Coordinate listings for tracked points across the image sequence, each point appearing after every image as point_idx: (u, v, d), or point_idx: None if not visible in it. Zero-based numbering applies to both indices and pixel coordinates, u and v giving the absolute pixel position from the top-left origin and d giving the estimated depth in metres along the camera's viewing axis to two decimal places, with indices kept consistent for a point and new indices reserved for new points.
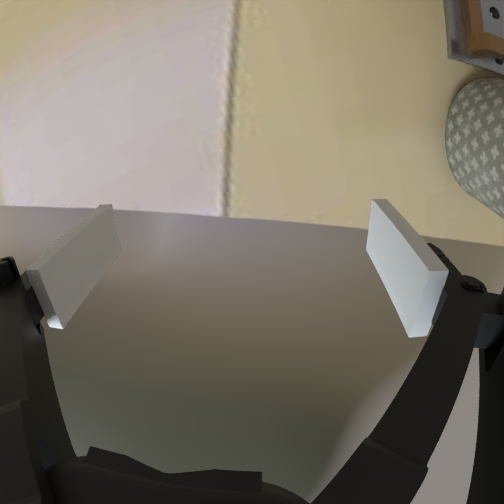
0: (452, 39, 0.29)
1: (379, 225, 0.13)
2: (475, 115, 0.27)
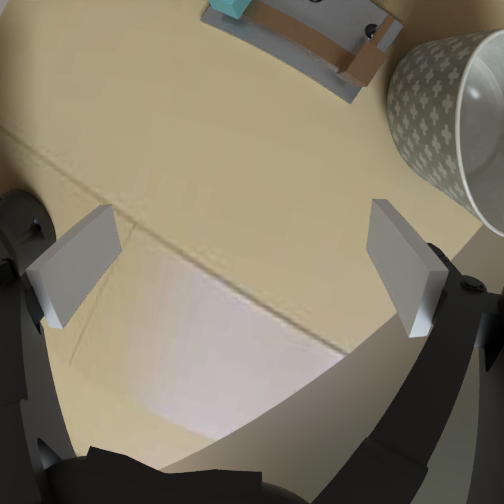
0: (331, 88, 0.32)
1: (379, 225, 0.13)
2: (423, 168, 0.27)
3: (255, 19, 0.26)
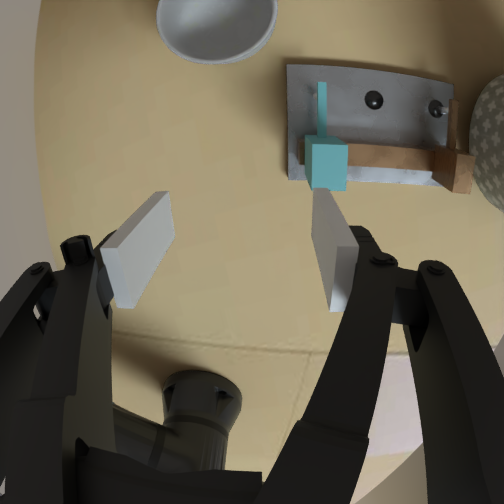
0: (427, 183, 0.33)
1: (316, 211, 0.15)
2: None
3: None
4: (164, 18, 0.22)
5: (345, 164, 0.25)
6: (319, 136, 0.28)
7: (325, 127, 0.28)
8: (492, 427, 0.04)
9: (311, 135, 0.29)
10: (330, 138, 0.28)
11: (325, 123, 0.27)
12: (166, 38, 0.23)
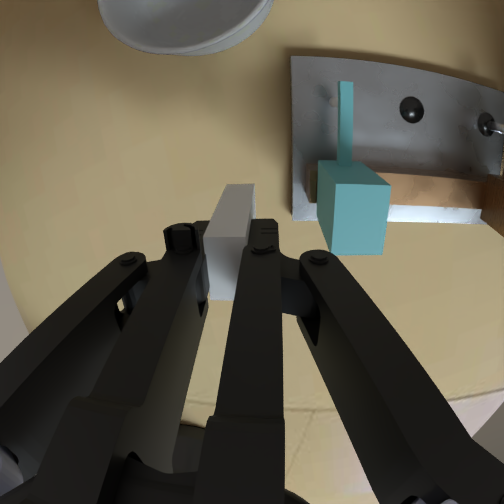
0: (470, 221, 0.24)
1: None
2: None
3: None
4: None
5: (385, 215, 0.16)
6: (341, 164, 0.19)
7: (350, 151, 0.18)
8: (415, 411, 0.05)
9: (328, 161, 0.20)
10: (358, 168, 0.18)
11: (350, 144, 0.18)
12: (110, 21, 0.13)
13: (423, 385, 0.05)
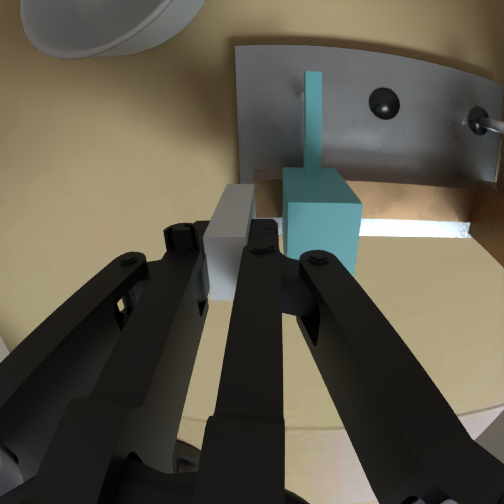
0: (457, 234, 0.21)
1: None
2: None
3: None
4: None
5: (354, 241, 0.13)
6: (307, 173, 0.16)
7: (319, 156, 0.15)
8: (415, 411, 0.05)
9: (294, 169, 0.17)
10: (327, 178, 0.15)
11: (319, 149, 0.15)
12: (30, 28, 0.11)
13: (423, 384, 0.05)
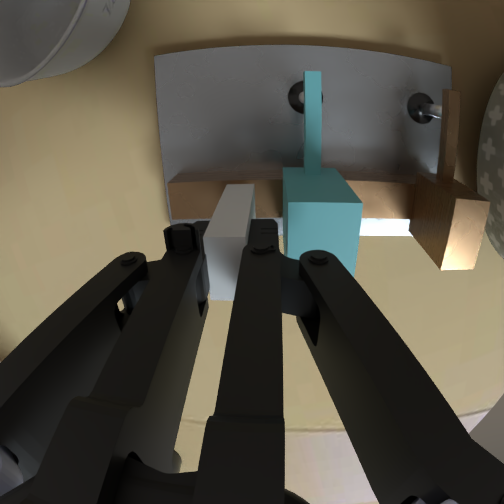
0: (403, 232, 0.22)
1: None
2: None
3: None
4: None
5: (355, 240, 0.13)
6: (307, 173, 0.16)
7: (318, 156, 0.15)
8: (415, 411, 0.05)
9: (294, 169, 0.17)
10: (327, 177, 0.15)
11: (319, 149, 0.15)
12: None
13: (423, 385, 0.05)
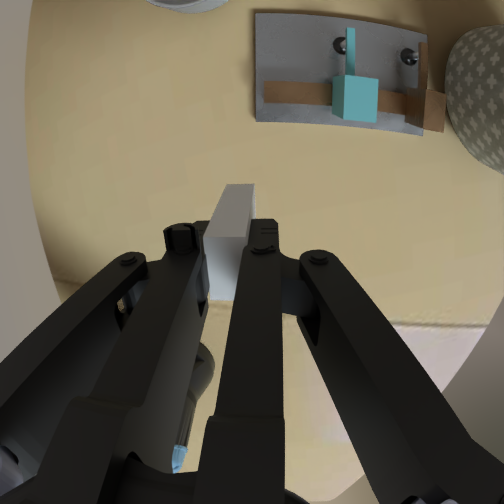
0: (402, 130, 0.32)
1: None
2: None
3: (312, 103, 0.30)
4: None
5: (376, 97, 0.23)
6: None
7: (353, 68, 0.26)
8: (415, 411, 0.05)
9: None
10: None
11: (353, 65, 0.25)
12: None
13: (423, 384, 0.05)
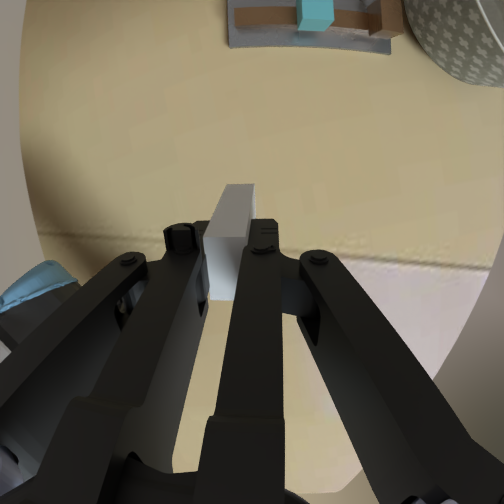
0: (370, 49, 0.31)
1: None
2: (478, 76, 0.24)
3: (279, 23, 0.28)
4: None
5: None
6: None
7: None
8: (415, 411, 0.05)
9: None
10: None
11: None
12: None
13: (423, 384, 0.05)
